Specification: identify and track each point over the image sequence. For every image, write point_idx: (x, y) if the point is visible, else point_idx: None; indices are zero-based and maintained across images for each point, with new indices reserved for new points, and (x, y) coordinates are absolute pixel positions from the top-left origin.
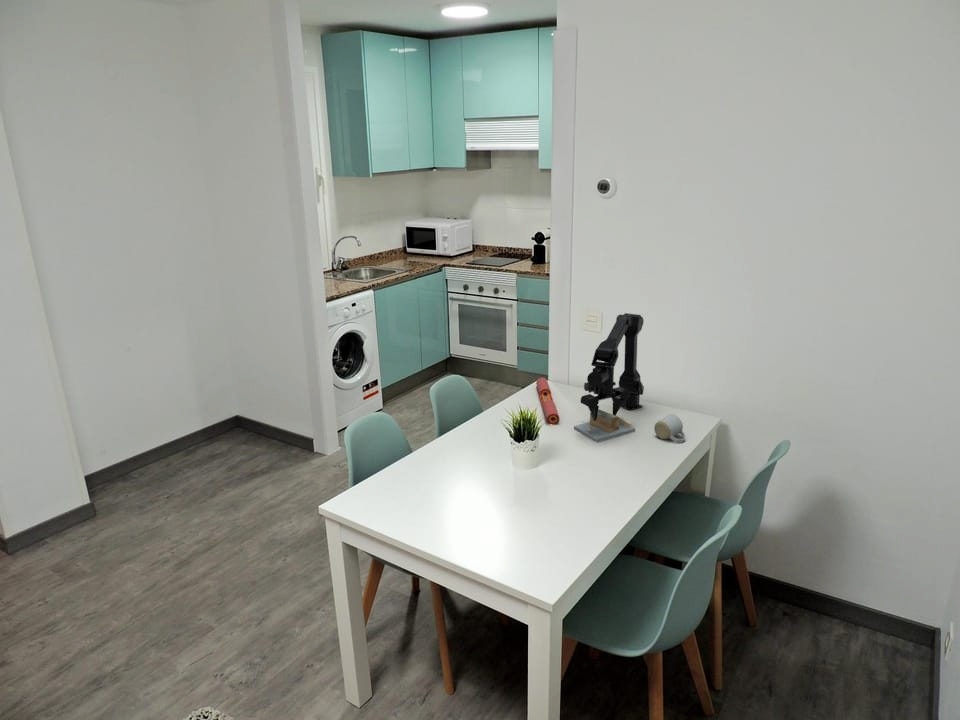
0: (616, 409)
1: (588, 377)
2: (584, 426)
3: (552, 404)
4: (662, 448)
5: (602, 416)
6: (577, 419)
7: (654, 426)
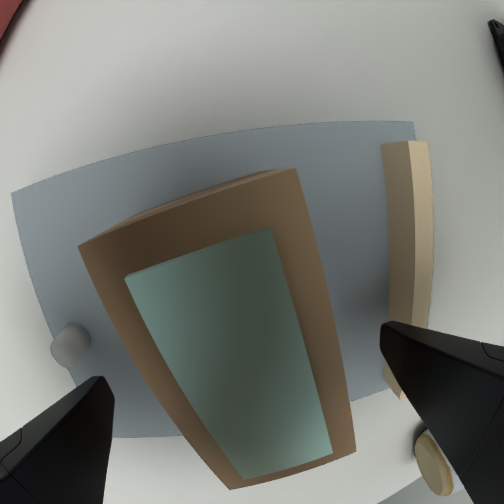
0: (424, 416)
1: None
2: (75, 233)
3: None
4: (357, 490)
5: (200, 418)
6: (136, 19)
7: (439, 456)
